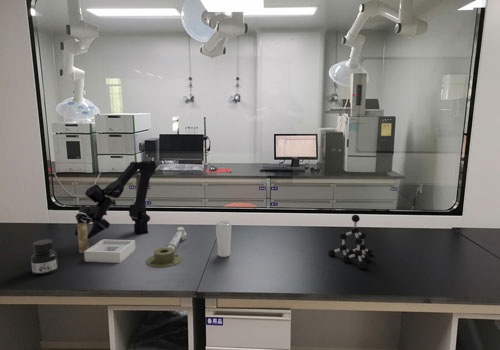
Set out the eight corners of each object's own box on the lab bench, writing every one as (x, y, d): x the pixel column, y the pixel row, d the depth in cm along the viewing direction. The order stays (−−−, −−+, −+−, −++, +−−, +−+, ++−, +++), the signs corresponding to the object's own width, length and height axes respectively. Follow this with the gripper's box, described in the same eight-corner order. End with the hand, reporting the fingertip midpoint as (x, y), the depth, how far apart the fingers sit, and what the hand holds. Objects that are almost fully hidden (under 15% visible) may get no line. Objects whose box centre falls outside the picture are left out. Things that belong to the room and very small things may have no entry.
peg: (89, 249, 163) (87, 222, 161) (88, 252, 159) (86, 224, 157) (79, 250, 161) (77, 223, 159) (79, 253, 157) (76, 225, 156)
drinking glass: (233, 253, 157) (233, 221, 155) (228, 258, 151) (227, 225, 149) (220, 251, 159) (219, 219, 157) (213, 257, 153) (213, 223, 151)
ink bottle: (29, 277, 133) (26, 247, 131) (33, 268, 141) (30, 240, 139) (58, 273, 137) (55, 243, 135) (60, 265, 145) (57, 237, 143)
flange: (189, 251, 149) (169, 242, 159) (158, 260, 138) (139, 251, 149) (189, 261, 150) (169, 252, 160) (158, 272, 139) (139, 261, 149)
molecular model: (362, 271, 139) (364, 222, 136) (326, 255, 155) (327, 211, 152) (390, 261, 148) (392, 216, 145) (353, 248, 165) (355, 206, 162)
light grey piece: (163, 247, 154) (176, 223, 178) (164, 260, 156) (177, 235, 180) (174, 247, 154) (186, 224, 178) (175, 261, 156) (187, 235, 180)
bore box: (103, 248, 163) (102, 239, 163) (135, 249, 162) (134, 240, 161) (84, 261, 148) (84, 251, 147) (120, 262, 147) (119, 252, 146)
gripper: (77, 196, 165) (56, 224, 157) (102, 200, 156) (81, 230, 148) (93, 209, 173) (74, 236, 165) (118, 214, 163) (98, 243, 156)
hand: (81, 236), depth 158 cm, fingers open, 9 cm apart
